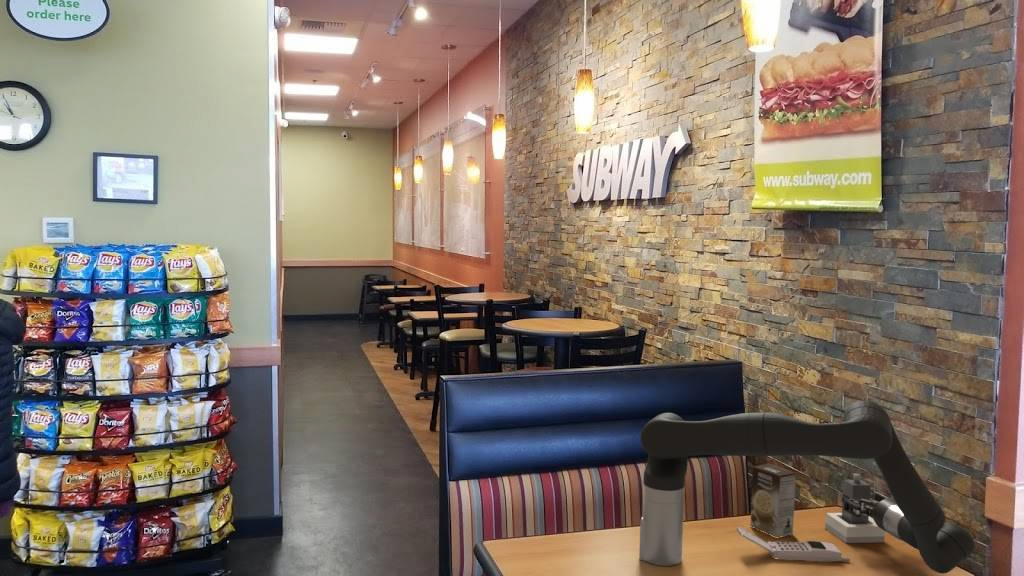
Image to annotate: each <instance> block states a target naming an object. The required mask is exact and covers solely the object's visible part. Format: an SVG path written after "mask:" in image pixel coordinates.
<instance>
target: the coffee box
mask: <svg viewBox="0 0 1024 576" xmlns="http://www.w3.org/2000/svg"><path fill="white" fill-rule="evenodd" d="M796 484H797V472H794V471H791V470H789V469H786V468H783V467H781V466H778V465H775V464H773V463H766V464H758V465H755V466H752V485H751V486H752V487H751V504H750V505H751V506H750V521H749V522H750V523H749V524H750V525H749V526H752V527H755V528H757V529H759V530H761V531H764V532H766V533H768V534H771V535H773V536H775V537H780V536H786V537H788V536H787V535H790V536H793V535H794V534H793V533H794V521H795V520H794V519H795V504H796V502H795V500H796V499H795V498H796V487H797V486H796ZM752 527H751V528H752ZM792 534H793V535H792Z"/></svg>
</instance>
